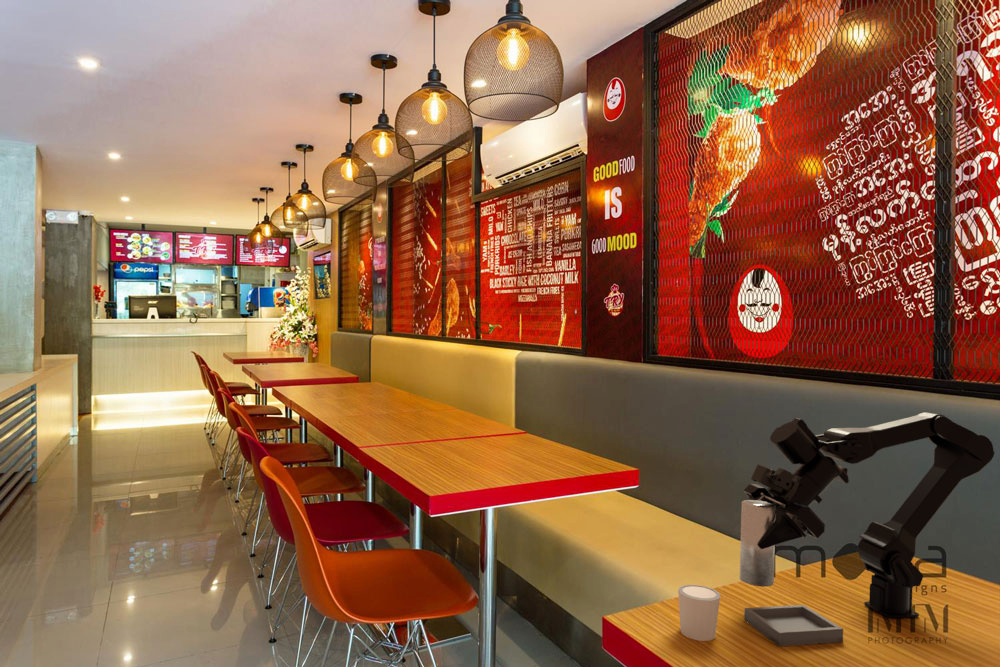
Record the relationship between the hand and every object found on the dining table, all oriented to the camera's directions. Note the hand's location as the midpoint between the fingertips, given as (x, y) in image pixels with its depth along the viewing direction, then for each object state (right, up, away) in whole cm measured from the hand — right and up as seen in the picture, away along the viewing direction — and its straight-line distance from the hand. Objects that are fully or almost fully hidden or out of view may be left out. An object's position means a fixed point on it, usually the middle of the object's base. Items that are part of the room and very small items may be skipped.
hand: (750, 541), depth 118 cm
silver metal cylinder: (+1, -7, 0) cm, 7 cm away
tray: (+4, -13, -7) cm, 16 cm away
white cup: (-13, -13, -9) cm, 20 cm away
